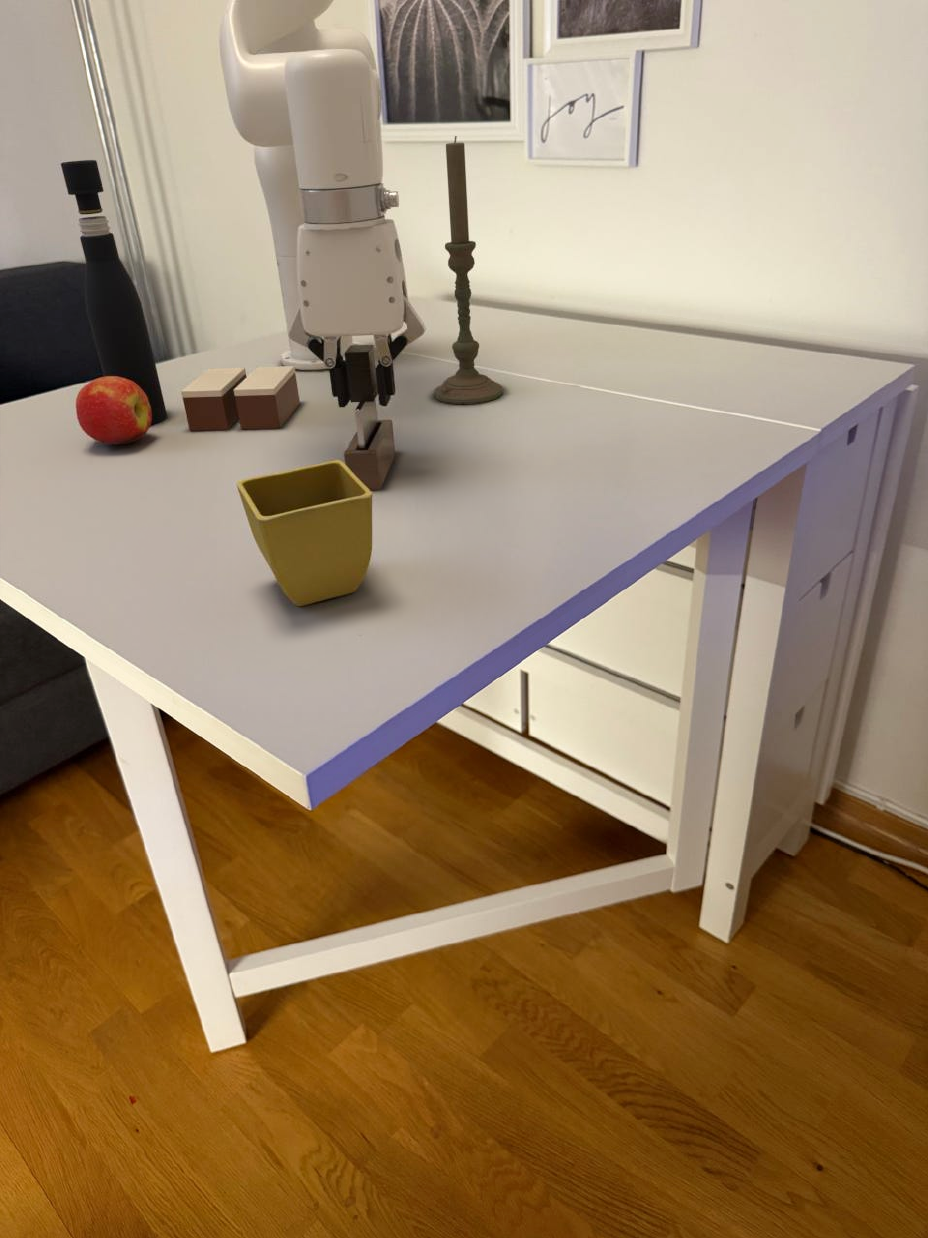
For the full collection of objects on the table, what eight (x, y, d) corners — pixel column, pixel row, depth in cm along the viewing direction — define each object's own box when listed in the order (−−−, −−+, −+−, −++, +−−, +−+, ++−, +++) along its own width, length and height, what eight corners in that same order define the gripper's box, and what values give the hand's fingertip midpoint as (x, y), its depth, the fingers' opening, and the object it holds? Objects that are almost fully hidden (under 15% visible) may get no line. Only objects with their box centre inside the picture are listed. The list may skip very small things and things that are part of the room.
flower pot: (278, 626, 69) (257, 518, 64) (254, 579, 76) (234, 479, 71) (386, 598, 72) (374, 493, 67) (353, 555, 79) (340, 458, 74)
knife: (368, 458, 100) (354, 338, 93) (390, 457, 99) (377, 338, 93) (354, 486, 93) (339, 359, 86) (377, 485, 92) (363, 358, 86)
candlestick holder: (513, 386, 120) (506, 131, 105) (486, 407, 113) (474, 137, 98) (452, 381, 124) (436, 134, 108) (421, 401, 116) (400, 140, 101)
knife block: (366, 454, 101) (362, 419, 99) (395, 453, 100) (392, 419, 98) (348, 490, 92) (343, 453, 90) (380, 489, 91) (376, 452, 89)
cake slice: (263, 404, 119) (257, 366, 117) (300, 403, 119) (294, 365, 116) (240, 429, 111) (233, 389, 108) (280, 428, 110) (273, 388, 108)
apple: (130, 456, 104) (113, 388, 100) (70, 453, 107) (51, 386, 103) (169, 434, 111) (154, 369, 107) (111, 431, 113) (94, 367, 109)
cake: (215, 406, 120) (208, 368, 117) (251, 405, 119) (245, 367, 117) (189, 430, 111) (180, 391, 109) (228, 429, 111) (220, 389, 108)
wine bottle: (152, 428, 113) (88, 162, 98) (106, 427, 115) (36, 165, 99) (176, 412, 119) (118, 157, 103) (132, 411, 120) (69, 160, 105)
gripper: (436, 198, 85) (449, 389, 95) (266, 207, 87) (295, 394, 96) (427, 207, 79) (441, 412, 88) (244, 217, 80) (277, 416, 90)
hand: (365, 401), depth 92 cm, fingers open, 3 cm apart
